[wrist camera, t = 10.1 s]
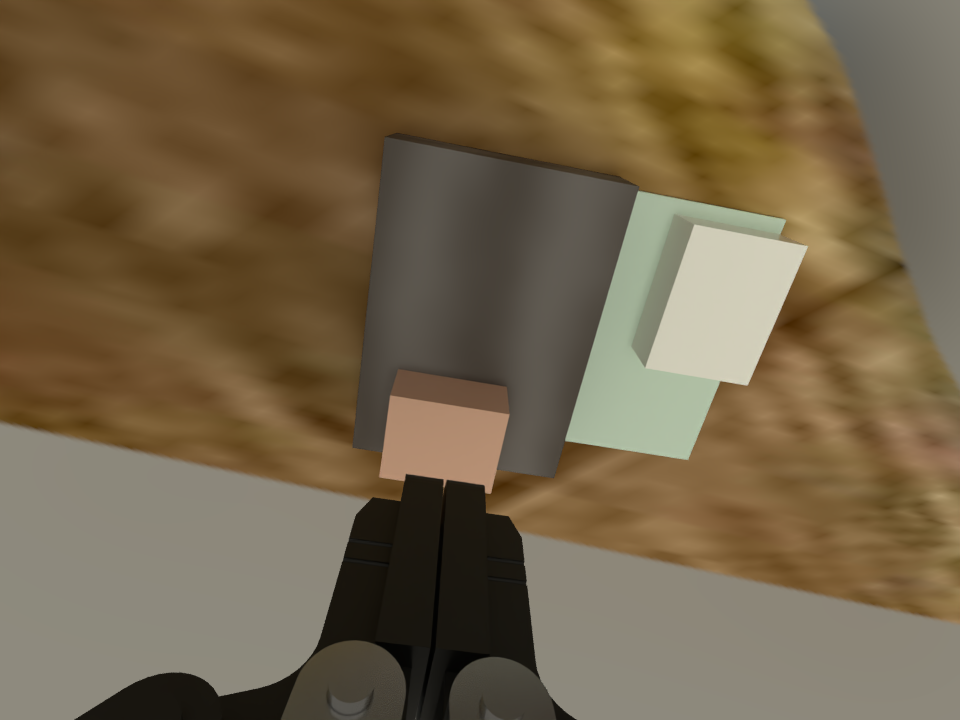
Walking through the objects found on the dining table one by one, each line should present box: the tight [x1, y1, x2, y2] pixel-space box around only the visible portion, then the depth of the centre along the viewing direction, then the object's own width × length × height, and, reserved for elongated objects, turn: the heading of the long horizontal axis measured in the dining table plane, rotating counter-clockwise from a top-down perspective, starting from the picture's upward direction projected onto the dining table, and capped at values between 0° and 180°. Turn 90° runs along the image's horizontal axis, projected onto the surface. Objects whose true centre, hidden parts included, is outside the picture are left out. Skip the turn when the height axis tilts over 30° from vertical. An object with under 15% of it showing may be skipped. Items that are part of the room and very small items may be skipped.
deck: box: [353, 133, 639, 478], centre depth 31 cm, size 12×17×4 cm
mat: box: [565, 191, 786, 460], centre depth 33 cm, size 9×16×1 cm, turn 170°
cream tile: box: [631, 214, 808, 385], centre depth 31 cm, size 6×8×3 cm
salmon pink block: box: [380, 369, 510, 494], centre depth 30 cm, size 6×5×3 cm
